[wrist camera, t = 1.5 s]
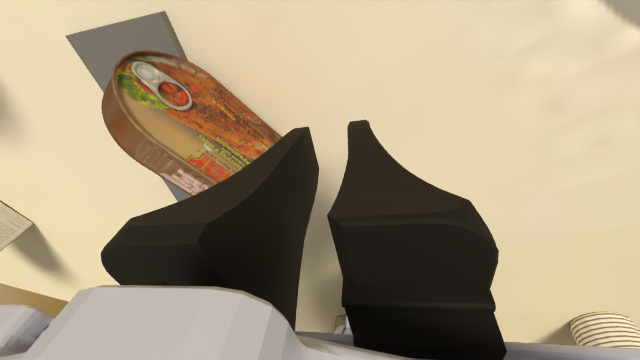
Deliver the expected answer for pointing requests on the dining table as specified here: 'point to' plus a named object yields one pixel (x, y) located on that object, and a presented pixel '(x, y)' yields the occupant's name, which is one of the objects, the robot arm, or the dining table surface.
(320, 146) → the dining table surface
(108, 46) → the mat
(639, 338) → the cup
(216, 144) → the tin
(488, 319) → the robot arm
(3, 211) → the skincare box
